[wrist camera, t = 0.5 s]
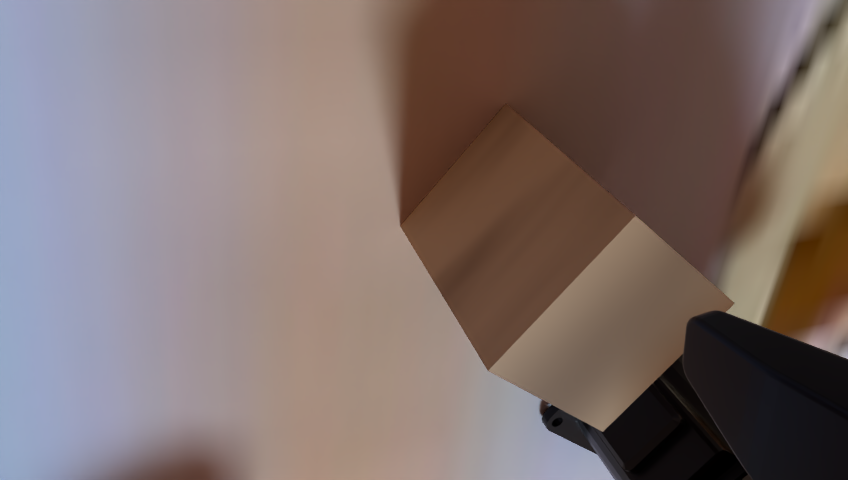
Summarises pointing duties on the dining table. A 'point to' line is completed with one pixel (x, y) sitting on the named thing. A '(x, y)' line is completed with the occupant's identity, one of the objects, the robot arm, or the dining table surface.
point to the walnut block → (555, 274)
